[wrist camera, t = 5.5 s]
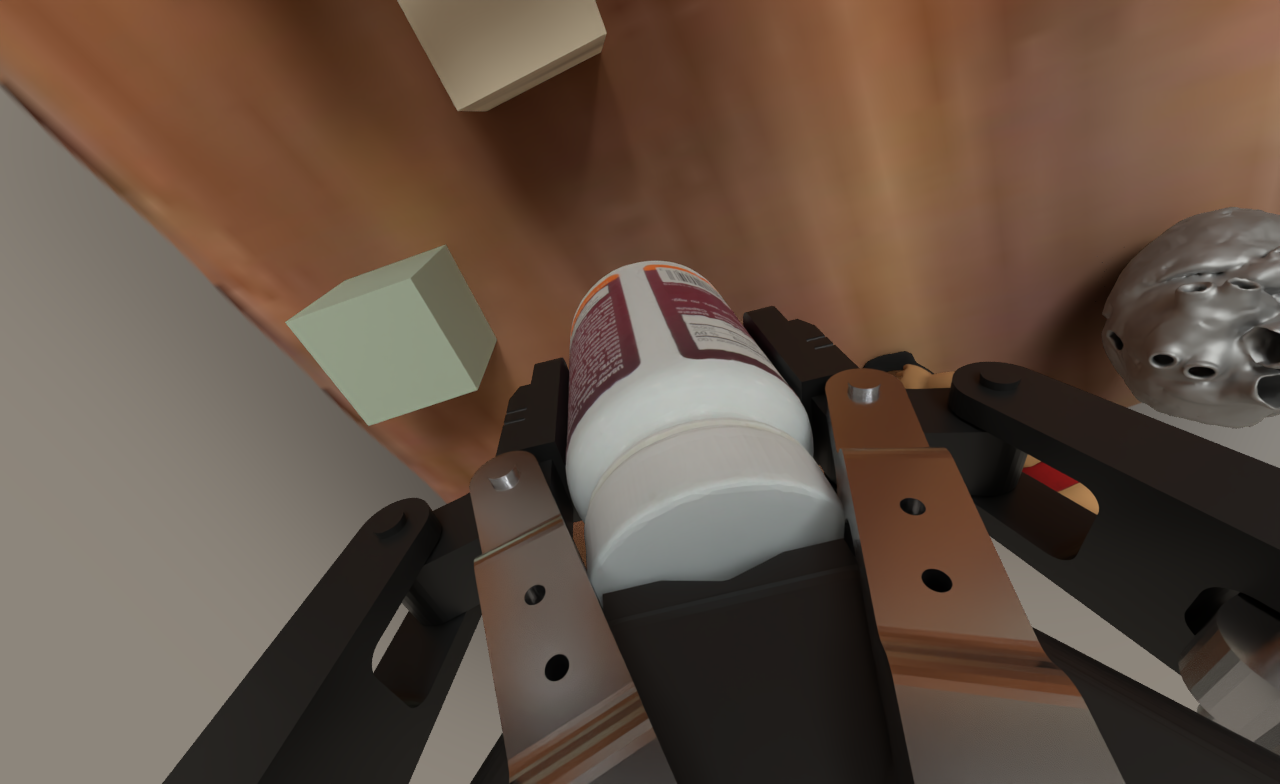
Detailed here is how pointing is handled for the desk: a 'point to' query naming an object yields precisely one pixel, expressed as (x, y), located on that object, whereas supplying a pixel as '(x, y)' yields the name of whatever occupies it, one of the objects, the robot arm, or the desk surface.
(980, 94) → the desk surface
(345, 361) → the sage block
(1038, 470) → the action figure
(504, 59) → the birch block
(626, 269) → the pill bottle
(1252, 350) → the heart
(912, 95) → the desk surface
